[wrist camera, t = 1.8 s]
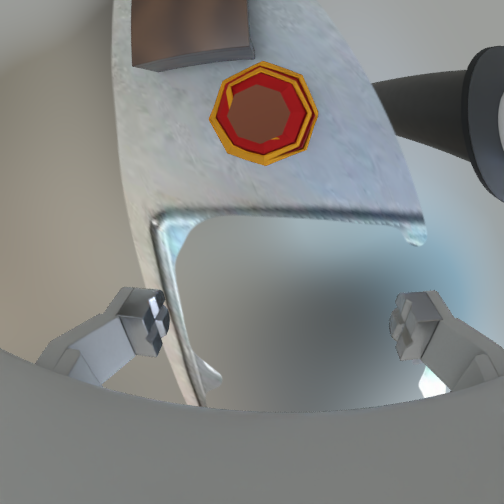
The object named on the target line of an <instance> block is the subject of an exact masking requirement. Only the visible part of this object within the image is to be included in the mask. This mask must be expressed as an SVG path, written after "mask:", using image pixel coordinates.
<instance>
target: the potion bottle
mask: <svg viewBox="0 0 504 504" xmlns="http://www.w3.org/2000/svg"><path fill="white" fill-rule="evenodd" d="M317 118H318V110H317V108H316V105H315V103H314V101H313V98H312V96H311V93H310V91H309V89H308V87H307V84H306V82H305V80H304V78H303V75H301V74H298V73H296V72H293V71H290V70H288V69H285V68H282V67H279V66H277V65H274V64H271V63H268V62H265V61H262V62H259V63H257V64H255V65H253V66H251V67H249V68H247V69H245V70H243V71H241V72H239V73H237V74H235V75H233V76H231V77H229V78H227V79H225V80H224V81H222V84H221V87H220V90H219V93H218V96H217V99H216V102H215V105H214V108H213V110H212V112H211V115H210V117H209V121H210V123H211V124H212V126H213V128H214V130H215V132H216V133H217V135H218V137H219V139H220V141H221V143H222V144H223V146H224V148H225V150H226V152H227V153H228V154H231V155H234V156H237V157H239V158H242V159H245V160H248V161H251V162H255V163H258V164H261V165H264V166H267V165H269V164H272V163H274V162H276V161H279V160H282V159H284V158H287V157H289V156H292V155H294V154H297V153H300V152H302V151H305V150H307V147H308V144H309V141H310V138H311V134H312V131H313V128H314V125H315V123H316V120H317Z"/></svg>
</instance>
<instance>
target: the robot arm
mask: <svg viewBox="0 0 504 504" xmlns="http://www.w3.org/2000/svg"><path fill="white" fill-rule="evenodd" d="M498 127H499V135H500V140H501V144H502V147H503V150H504V93H503V95H502V98H501V101H500V105H499V111H498ZM164 301H165V297H164V294H163V292H162V291H161V290H157V289H146V288H133V287H123V288H121V289H120V291H119V292H118V294H117V295H116V296H115V298H114V299H113V300H112V302H111V303H110V305H109V306H108V307H107V309H106V310H105V312H104V313H103V314H98V315H96V316H94V317H93V318H91V319H89V320H87V321H85V322H84V323H82V324H80V325H78V326H76V327H75V328H73V329H71V330H69V331H68V332H66V333H64V334H62V335H61V336H59V337H57V338H55V339H53V340H52V341H50V343H49V344H48V345H47V347H46V348H45V350H44V351H43V353H42V354H41V356H40V357H39V358H38V360H37V361H36V363H35V364H33V363H31V362H29V361H27V360H24V359H22V358H20V357H18V356H15V355H13V354H11V353H9V352H7V351H5V350H2V349H1V348H0V504H504V349H503V348H502V347H501V346H499V345H498V344H496V343H495V342H493V341H492V340H490V339H489V338H487V337H486V336H484V335H483V334H481V333H480V332H478V331H477V330H475V329H474V328H472V327H471V326H469V325H467V324H466V323H465V322H463V321H461V320H460V319H458V318H456V319H455V318H454V317H453V315H452V314H451V312H450V310H449V309H448V307H447V306H446V304H445V302H444V301H443V299H442V298H441V297H440V295H439V293H438V292H437V291H435V290H433V291H423V292H410V293H409V292H408V293H399V294H398V296H397V298H396V301H395V303H396V305H397V308H396V309H395V310H394V311H393V312H392V314H391V317H390V323H389V329H390V334H391V336H392V338H393V339H394V340H396V341H397V344H396V350H397V353H398V355H399V358H400V361H403V360H413V359H421V361H422V362H423V363H424V364H425V365H426V366H427V367H428V368H429V369H430V370H431V371H432V372H433V373H434V374H435V375H436V376H437V377H438V378H439V379H440V380H441V381H442V382H443V383H444V384H445V385H446V386H447V387H449V389H450V390H451V391H450V392H449V393H445V394H441V395H437V396H433V397H428V398H424V399H419V400H414V401H409V402H403V403H397V404H391V405H384V406H378V407H369V408H361V409H351V410H339V411H323V412H254V411H238V410H226V409H215V408H206V407H198V406H191V405H184V404H177V403H171V402H166V401H160V400H154V399H149V398H145V397H140V396H136V395H131V394H127V393H123V392H119V391H115V390H111V389H107V388H103V386H102V384H103V383H104V382H105V381H106V380H108V379H109V378H110V377H111V376H112V375H113V374H115V373H116V372H117V371H118V370H119V369H121V368H122V367H123V366H124V365H125V364H126V363H127V362H129V361H130V360H131V359H132V358H134V357H135V355H142V356H149V357H157V356H158V353H159V351H160V348H161V346H162V344H163V343H162V340H161V338H162V337H164V336H165V335H166V334H167V332H168V329H169V323H170V317H169V312H168V309H167V308H166V307H165V306H164V305H163V303H164Z"/></svg>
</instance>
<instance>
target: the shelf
mask: <svg viewBox="0 0 504 504" xmlns="http://www.w3.org/2000/svg"><path fill="white" fill-rule="evenodd" d="M131 47H132V66H133V67H137V68H142V69H147V70H151V71H156V72H161V71H165V70H170V69H175V68H181V67H186V66H192V65H199V64H206V63H213V62H222V61H231V60H243V59H255V53H254V48H253V45H252V43H251V40H250V32H249V16H248V2H247V0H132V6H131Z"/></svg>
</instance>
